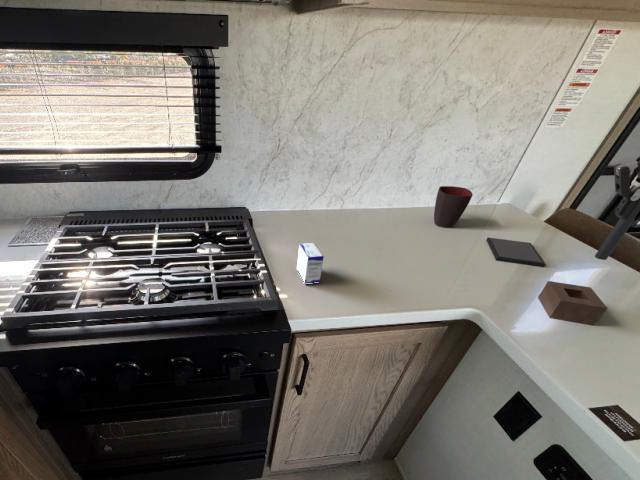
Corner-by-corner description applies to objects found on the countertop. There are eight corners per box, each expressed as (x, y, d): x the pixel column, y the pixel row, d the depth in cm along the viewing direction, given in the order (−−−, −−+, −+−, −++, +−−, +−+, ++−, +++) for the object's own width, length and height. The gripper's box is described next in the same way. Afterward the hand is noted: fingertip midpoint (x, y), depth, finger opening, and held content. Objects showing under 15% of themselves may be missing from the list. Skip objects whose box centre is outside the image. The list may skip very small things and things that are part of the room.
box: (320, 283, 93) (324, 255, 88) (304, 285, 92) (307, 257, 87) (311, 268, 99) (314, 242, 94) (295, 270, 98) (298, 243, 93)
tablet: (529, 245, 109) (530, 242, 109) (543, 267, 99) (545, 263, 98) (486, 240, 113) (487, 237, 112) (495, 260, 102) (497, 257, 101)
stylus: (604, 256, 75) (648, 192, 66) (608, 260, 73) (654, 195, 65) (592, 254, 75) (635, 191, 67) (596, 259, 74) (641, 194, 65)
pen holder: (578, 304, 85) (590, 287, 82) (594, 325, 78) (608, 308, 75) (537, 297, 87) (547, 280, 84) (549, 317, 81) (560, 300, 78)
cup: (430, 228, 120) (442, 194, 113) (423, 213, 131) (434, 181, 123) (462, 231, 118) (476, 197, 111) (452, 215, 129) (464, 183, 121)
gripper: (656, 124, 58) (594, 221, 68) (768, 128, 54) (684, 230, 64) (632, 116, 63) (578, 207, 74) (732, 120, 60) (661, 215, 70)
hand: (628, 217), depth 69 cm, fingers closed on stylus, 2 cm apart
